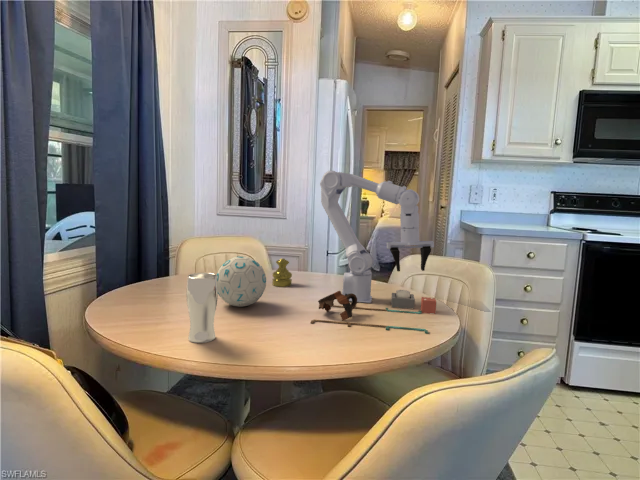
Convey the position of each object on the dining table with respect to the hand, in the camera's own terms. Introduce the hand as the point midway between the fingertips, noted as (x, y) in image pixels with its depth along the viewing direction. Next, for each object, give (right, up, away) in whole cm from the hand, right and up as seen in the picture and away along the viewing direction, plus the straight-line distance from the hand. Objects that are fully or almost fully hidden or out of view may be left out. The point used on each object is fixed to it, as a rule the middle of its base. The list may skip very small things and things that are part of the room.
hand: (410, 270), depth 130 cm
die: (+4, -12, -4) cm, 14 cm away
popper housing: (-2, -11, +2) cm, 12 cm away
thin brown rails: (-15, -12, -13) cm, 23 cm away
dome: (-2, -10, +1) cm, 10 cm away
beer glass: (-56, -14, -34) cm, 67 cm away
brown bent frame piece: (-23, -12, -12) cm, 29 cm away
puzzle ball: (-53, -10, -6) cm, 54 cm away
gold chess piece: (-43, -7, +24) cm, 50 cm away
